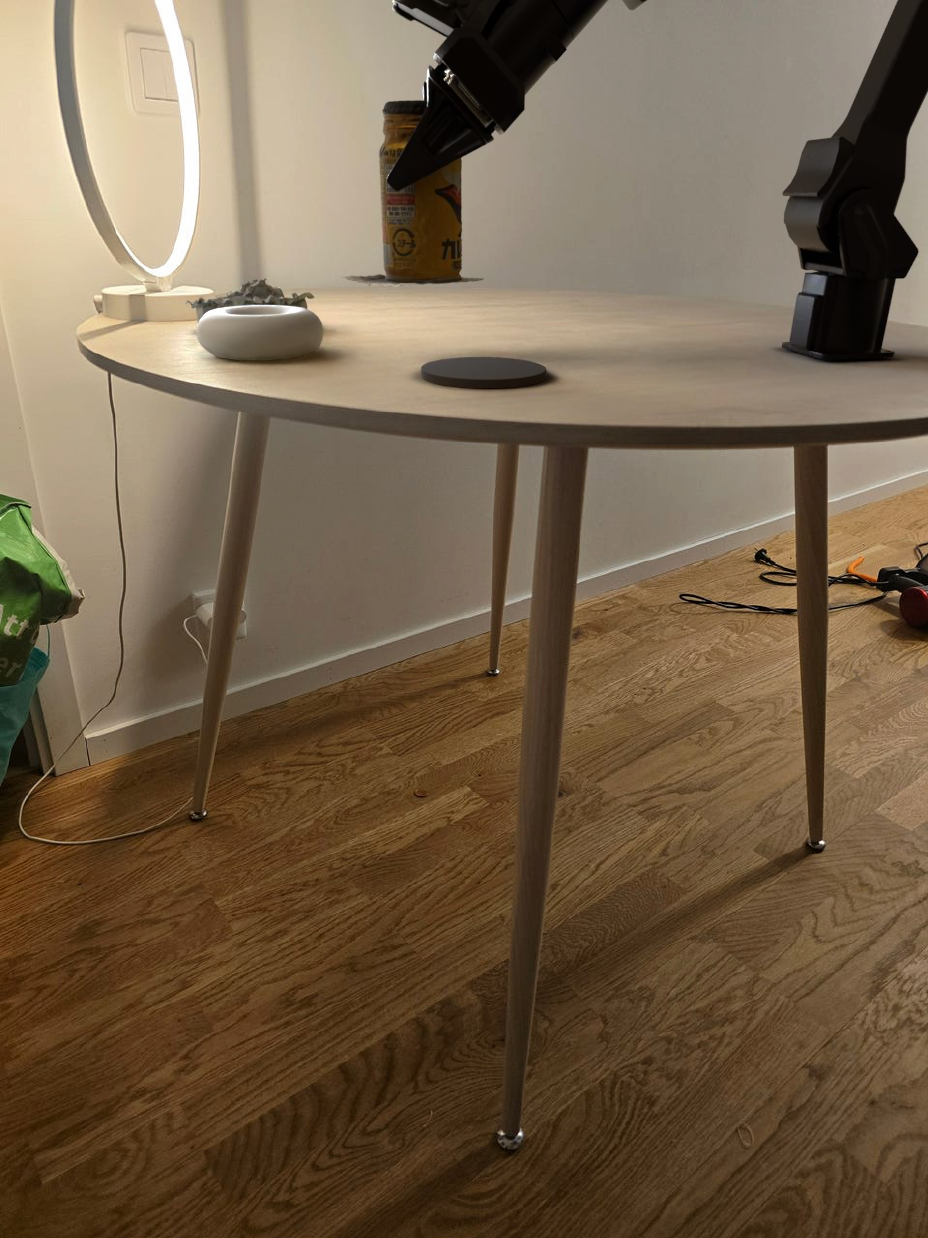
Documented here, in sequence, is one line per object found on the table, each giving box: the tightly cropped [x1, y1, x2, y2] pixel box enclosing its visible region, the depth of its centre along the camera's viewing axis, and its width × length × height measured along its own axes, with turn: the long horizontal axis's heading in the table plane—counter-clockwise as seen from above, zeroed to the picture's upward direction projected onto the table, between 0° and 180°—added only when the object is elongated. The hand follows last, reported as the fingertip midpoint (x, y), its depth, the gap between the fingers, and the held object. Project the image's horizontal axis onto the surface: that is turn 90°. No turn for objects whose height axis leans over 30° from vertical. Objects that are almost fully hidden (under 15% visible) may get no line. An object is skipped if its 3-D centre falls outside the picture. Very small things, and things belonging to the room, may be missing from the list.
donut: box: [195, 305, 324, 361], centre depth 71 cm, size 10×4×10 cm
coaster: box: [420, 356, 547, 389], centre depth 63 cm, size 9×9×1 cm
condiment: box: [341, 99, 484, 288], centre depth 65 cm, size 7×8×12 cm
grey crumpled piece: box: [185, 277, 315, 325], centre depth 83 cm, size 11×8×4 cm
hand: (391, 186), depth 65 cm, fingers closed on condiment, 6 cm apart
